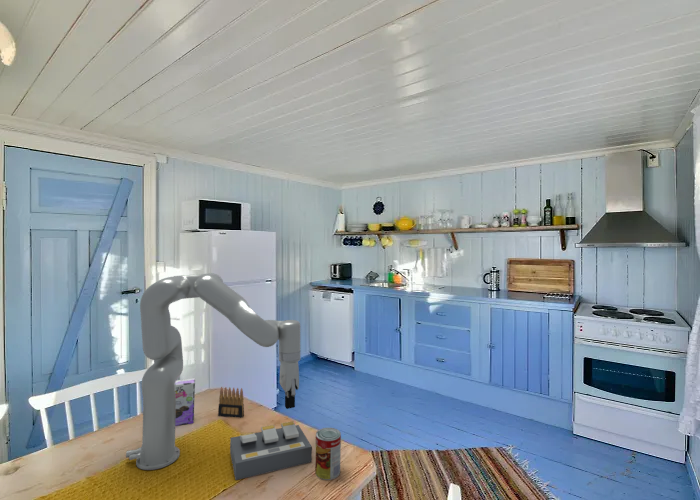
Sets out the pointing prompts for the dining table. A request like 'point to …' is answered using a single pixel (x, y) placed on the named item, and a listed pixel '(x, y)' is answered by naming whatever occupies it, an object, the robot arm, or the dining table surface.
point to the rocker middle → (269, 434)
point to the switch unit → (268, 454)
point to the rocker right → (289, 430)
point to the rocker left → (248, 437)
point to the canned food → (328, 453)
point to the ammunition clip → (231, 403)
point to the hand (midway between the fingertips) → (289, 407)
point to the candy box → (184, 401)
